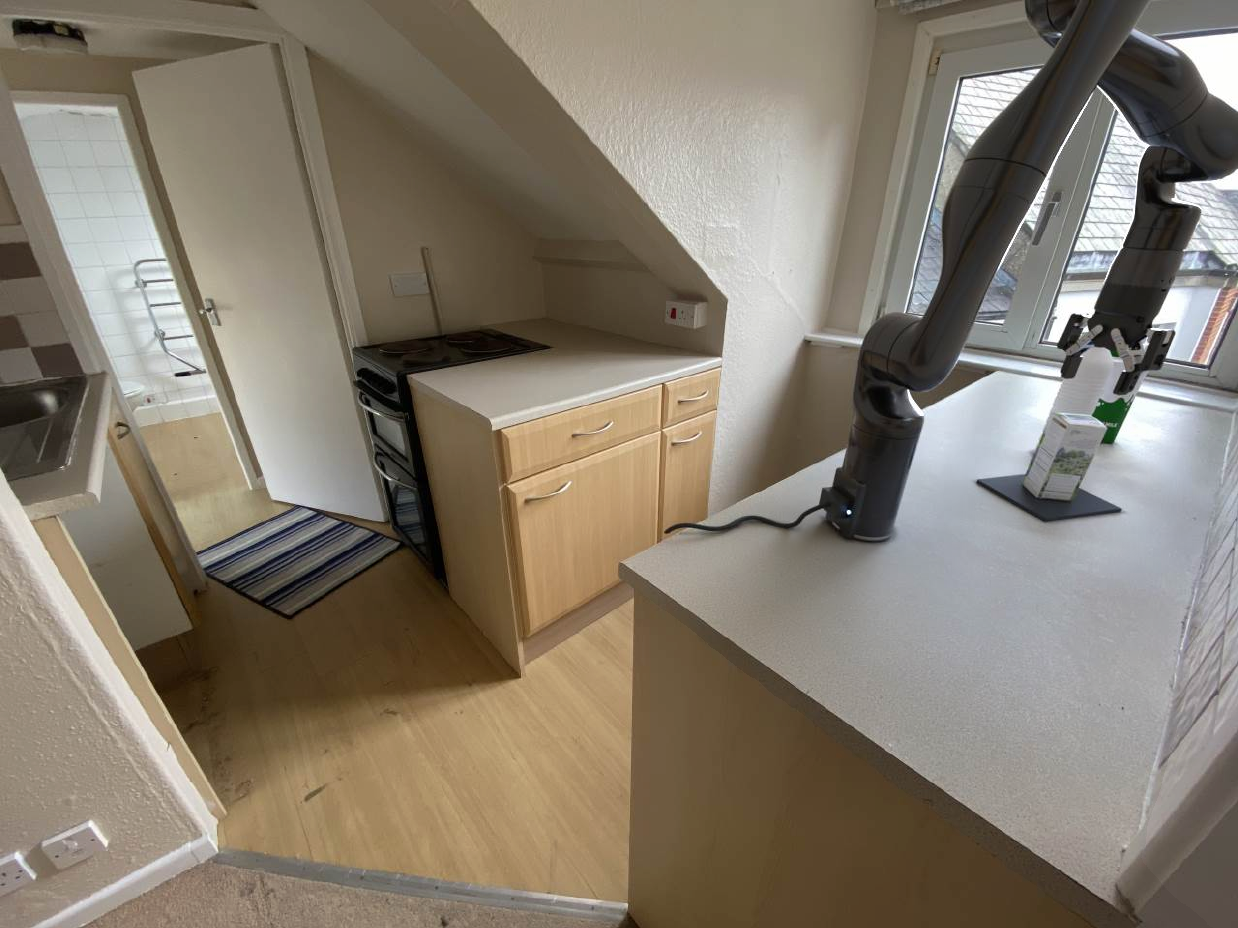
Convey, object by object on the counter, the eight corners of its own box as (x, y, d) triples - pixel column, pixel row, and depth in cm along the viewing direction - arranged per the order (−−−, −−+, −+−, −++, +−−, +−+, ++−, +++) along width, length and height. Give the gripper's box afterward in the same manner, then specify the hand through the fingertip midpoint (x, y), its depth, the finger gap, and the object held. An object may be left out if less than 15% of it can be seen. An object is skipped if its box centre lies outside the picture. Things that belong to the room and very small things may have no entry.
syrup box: (1055, 487, 97) (1087, 412, 90) (1073, 503, 92) (1109, 425, 85) (1020, 483, 98) (1050, 410, 91) (1036, 499, 93) (1069, 422, 86)
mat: (1044, 521, 87) (1046, 518, 87) (976, 482, 99) (977, 479, 99) (1120, 511, 90) (1122, 508, 90) (1045, 474, 103) (1046, 471, 102)
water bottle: (1073, 457, 110) (1126, 337, 99) (1069, 467, 106) (1124, 342, 94) (1023, 445, 115) (1068, 329, 104) (1017, 454, 111) (1064, 334, 100)
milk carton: (1104, 431, 123) (1143, 346, 114) (1120, 446, 115) (1163, 356, 106) (1059, 425, 126) (1093, 341, 117) (1071, 439, 118) (1110, 351, 109)
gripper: (1071, 275, 84) (1033, 374, 91) (1172, 288, 72) (1120, 401, 79) (1108, 275, 86) (1068, 372, 93) (1214, 288, 73) (1158, 399, 80)
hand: (1092, 385), depth 86 cm, fingers open, 8 cm apart
